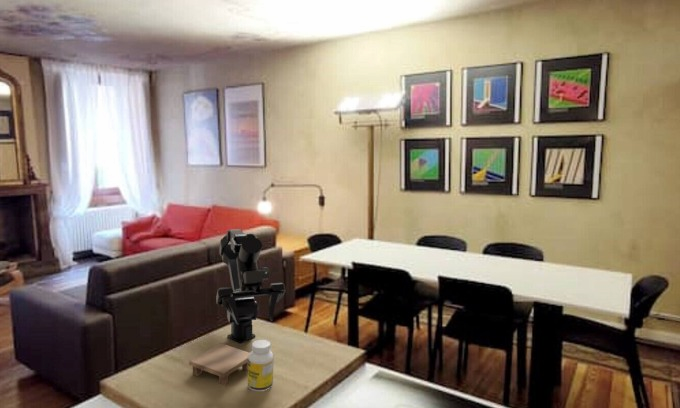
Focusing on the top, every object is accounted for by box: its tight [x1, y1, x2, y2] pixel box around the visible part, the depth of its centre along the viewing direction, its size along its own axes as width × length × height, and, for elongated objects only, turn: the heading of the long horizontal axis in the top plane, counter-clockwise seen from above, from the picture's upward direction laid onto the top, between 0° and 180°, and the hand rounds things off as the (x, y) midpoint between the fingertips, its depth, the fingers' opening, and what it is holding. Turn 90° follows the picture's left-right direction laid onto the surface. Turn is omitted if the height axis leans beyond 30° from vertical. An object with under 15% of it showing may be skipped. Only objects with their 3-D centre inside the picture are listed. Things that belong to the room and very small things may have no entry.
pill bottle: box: [247, 339, 275, 392], centre depth 115 cm, size 6×6×12 cm
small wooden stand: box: [188, 342, 250, 387], centre depth 122 cm, size 12×12×4 cm
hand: (255, 322), depth 122 cm, fingers open, 9 cm apart
